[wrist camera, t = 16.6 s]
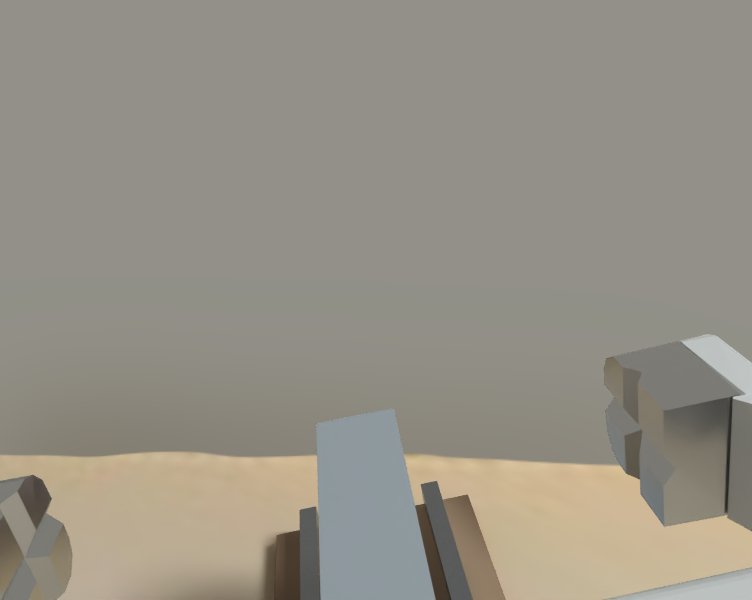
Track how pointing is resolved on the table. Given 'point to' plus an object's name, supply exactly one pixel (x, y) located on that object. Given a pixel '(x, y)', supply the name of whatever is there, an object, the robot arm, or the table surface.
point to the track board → (441, 543)
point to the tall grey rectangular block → (368, 513)
